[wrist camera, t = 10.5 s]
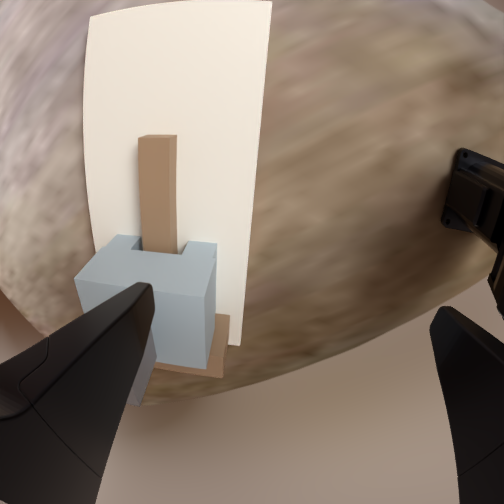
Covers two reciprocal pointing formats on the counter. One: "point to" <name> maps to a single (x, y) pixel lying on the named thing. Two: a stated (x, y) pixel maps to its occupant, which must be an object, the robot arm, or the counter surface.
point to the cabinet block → (159, 299)
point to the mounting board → (178, 137)
